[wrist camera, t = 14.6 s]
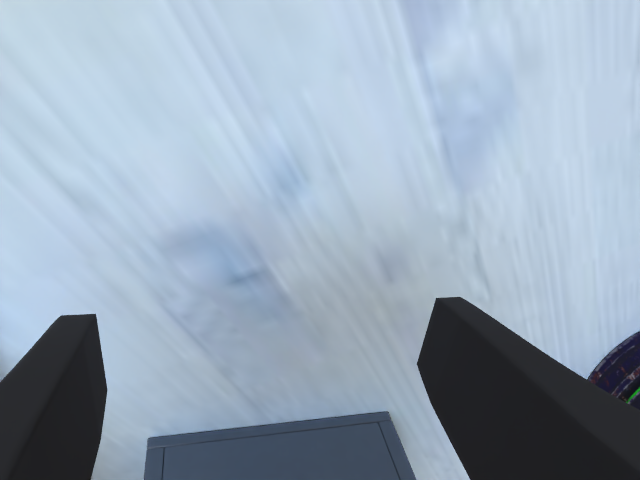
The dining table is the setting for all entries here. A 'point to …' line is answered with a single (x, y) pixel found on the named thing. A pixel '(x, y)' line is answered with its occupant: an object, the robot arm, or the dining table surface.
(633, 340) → the dark purple cylinder
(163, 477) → the open square box
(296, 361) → the dining table surface
